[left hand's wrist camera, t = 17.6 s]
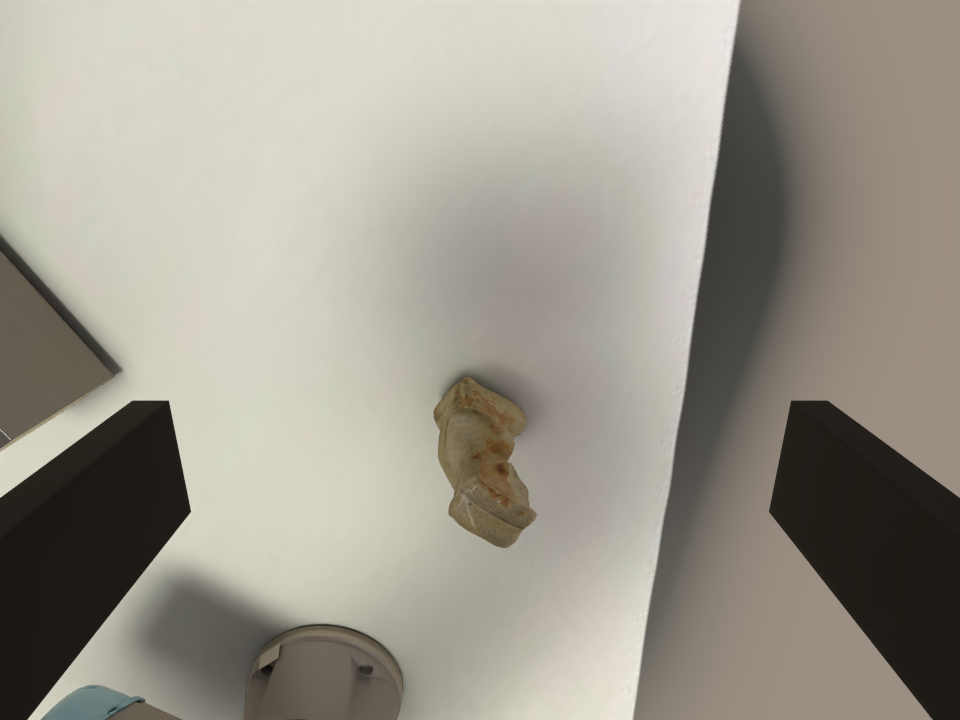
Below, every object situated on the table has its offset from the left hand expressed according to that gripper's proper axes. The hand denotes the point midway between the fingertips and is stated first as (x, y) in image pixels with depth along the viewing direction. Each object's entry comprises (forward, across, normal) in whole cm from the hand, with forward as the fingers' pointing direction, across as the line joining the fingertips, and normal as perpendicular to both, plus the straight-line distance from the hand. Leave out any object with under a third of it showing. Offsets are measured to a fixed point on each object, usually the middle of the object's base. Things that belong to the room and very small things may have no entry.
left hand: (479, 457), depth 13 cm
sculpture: (+34, 0, +14) cm, 37 cm away
